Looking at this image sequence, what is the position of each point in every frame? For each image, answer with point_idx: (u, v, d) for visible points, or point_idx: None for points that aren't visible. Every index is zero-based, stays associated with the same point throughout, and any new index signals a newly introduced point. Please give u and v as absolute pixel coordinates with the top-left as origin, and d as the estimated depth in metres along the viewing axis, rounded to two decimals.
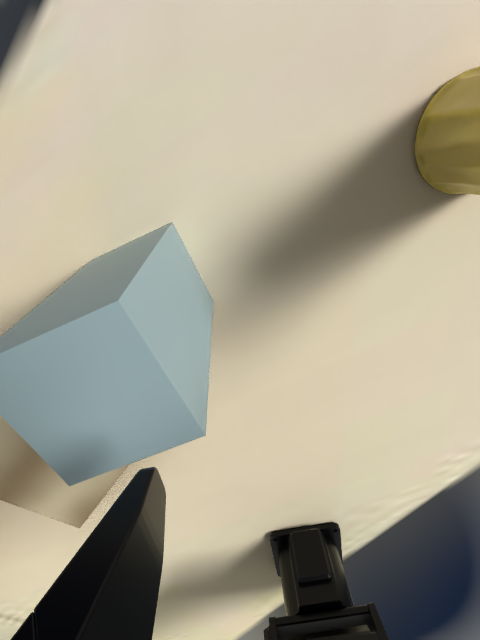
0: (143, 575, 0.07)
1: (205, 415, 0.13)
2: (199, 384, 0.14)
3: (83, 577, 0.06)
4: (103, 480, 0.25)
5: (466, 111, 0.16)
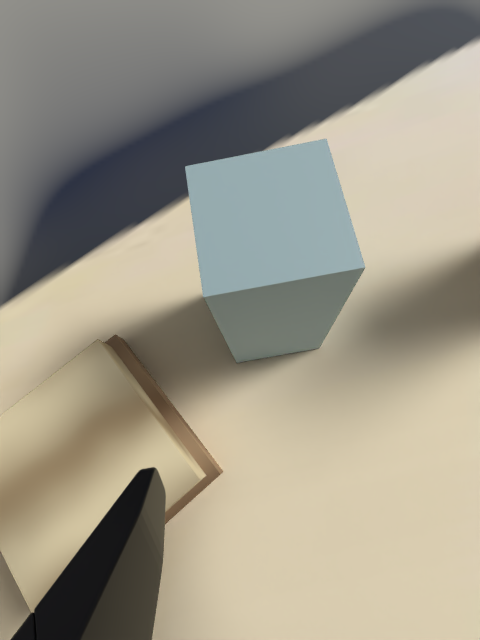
0: (143, 575, 0.07)
1: (358, 276, 0.13)
2: None
3: (83, 577, 0.06)
4: None
5: None
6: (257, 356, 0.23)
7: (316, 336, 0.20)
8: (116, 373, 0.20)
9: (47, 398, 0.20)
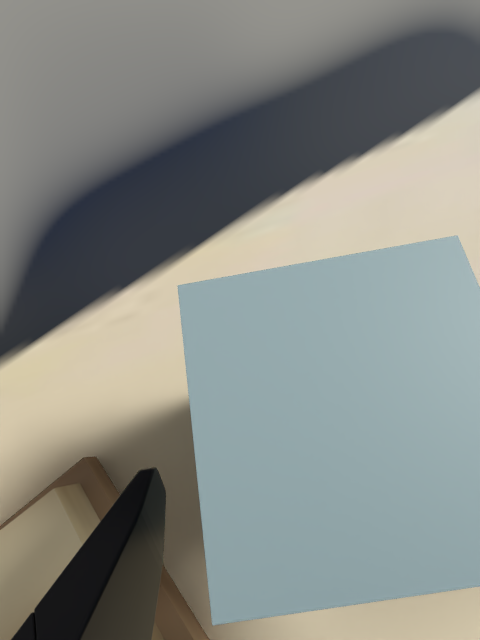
0: (143, 575, 0.07)
1: None
2: None
3: (83, 577, 0.06)
4: None
5: None
6: None
7: None
8: (77, 549, 0.14)
9: None
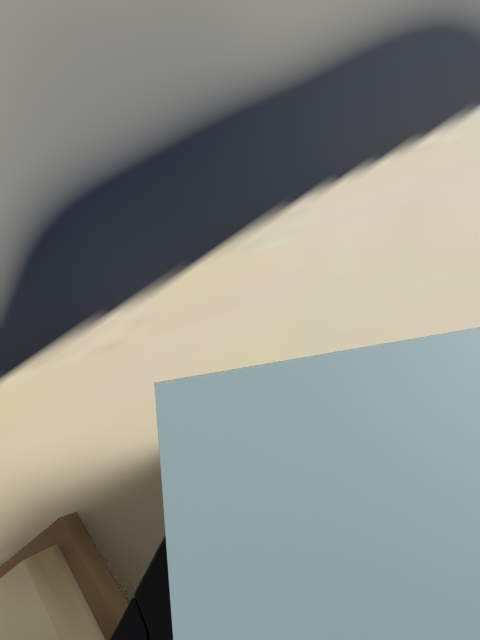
0: None
1: None
2: None
3: None
4: None
5: None
6: None
7: None
8: None
9: None
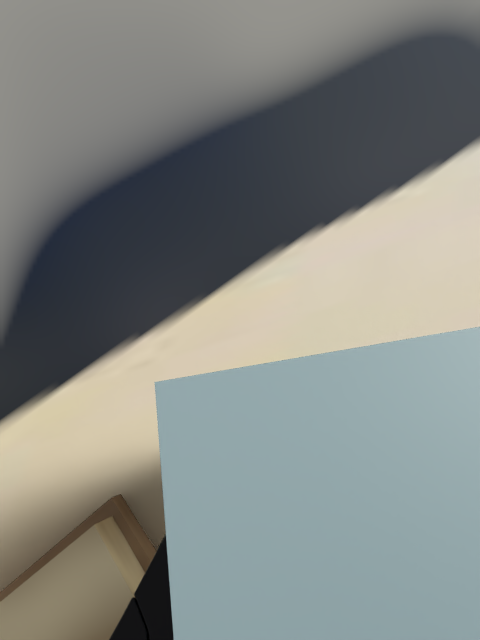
0: None
1: None
2: None
3: None
4: None
5: None
6: None
7: None
8: (117, 579, 0.16)
9: (26, 610, 0.16)
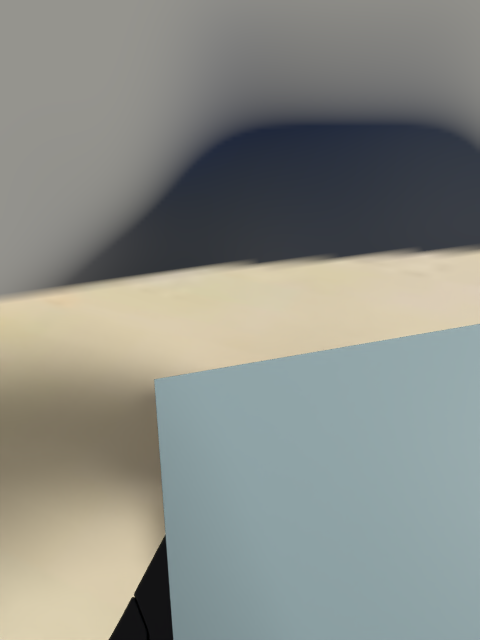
0: None
1: None
2: None
3: None
4: None
5: None
6: None
7: None
8: None
9: None
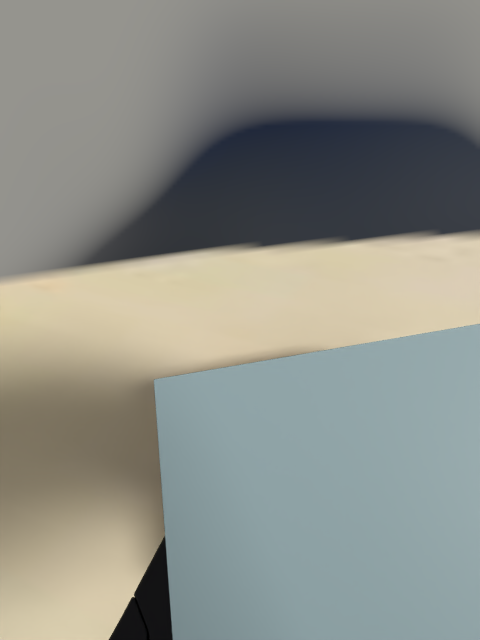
0: None
1: None
2: None
3: None
4: None
5: None
6: None
7: None
8: None
9: None
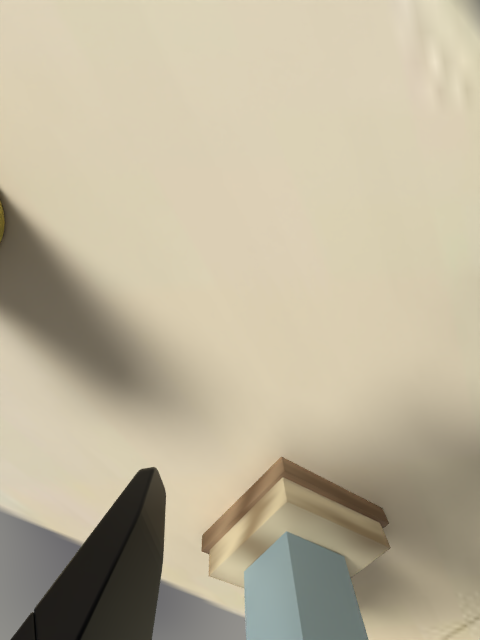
0: (143, 575, 0.07)
1: None
2: None
3: (83, 577, 0.06)
4: (329, 529, 0.26)
5: None
6: (332, 561, 0.26)
7: (302, 586, 0.23)
8: (229, 560, 0.27)
9: None
